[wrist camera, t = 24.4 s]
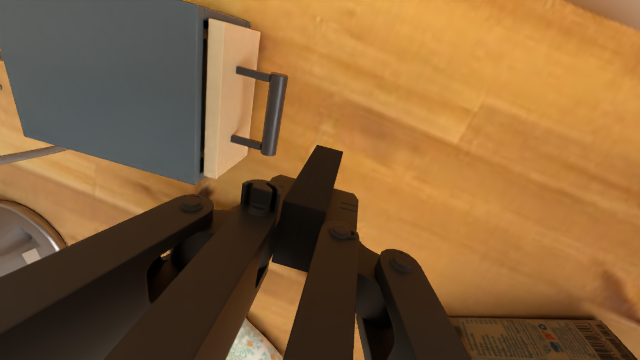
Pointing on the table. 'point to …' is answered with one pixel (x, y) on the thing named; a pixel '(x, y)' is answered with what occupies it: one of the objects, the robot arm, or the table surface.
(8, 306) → the robot arm
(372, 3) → the table surface
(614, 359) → the beverage carton
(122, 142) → the cabinet
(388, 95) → the table surface
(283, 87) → the drawer
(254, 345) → the towel
